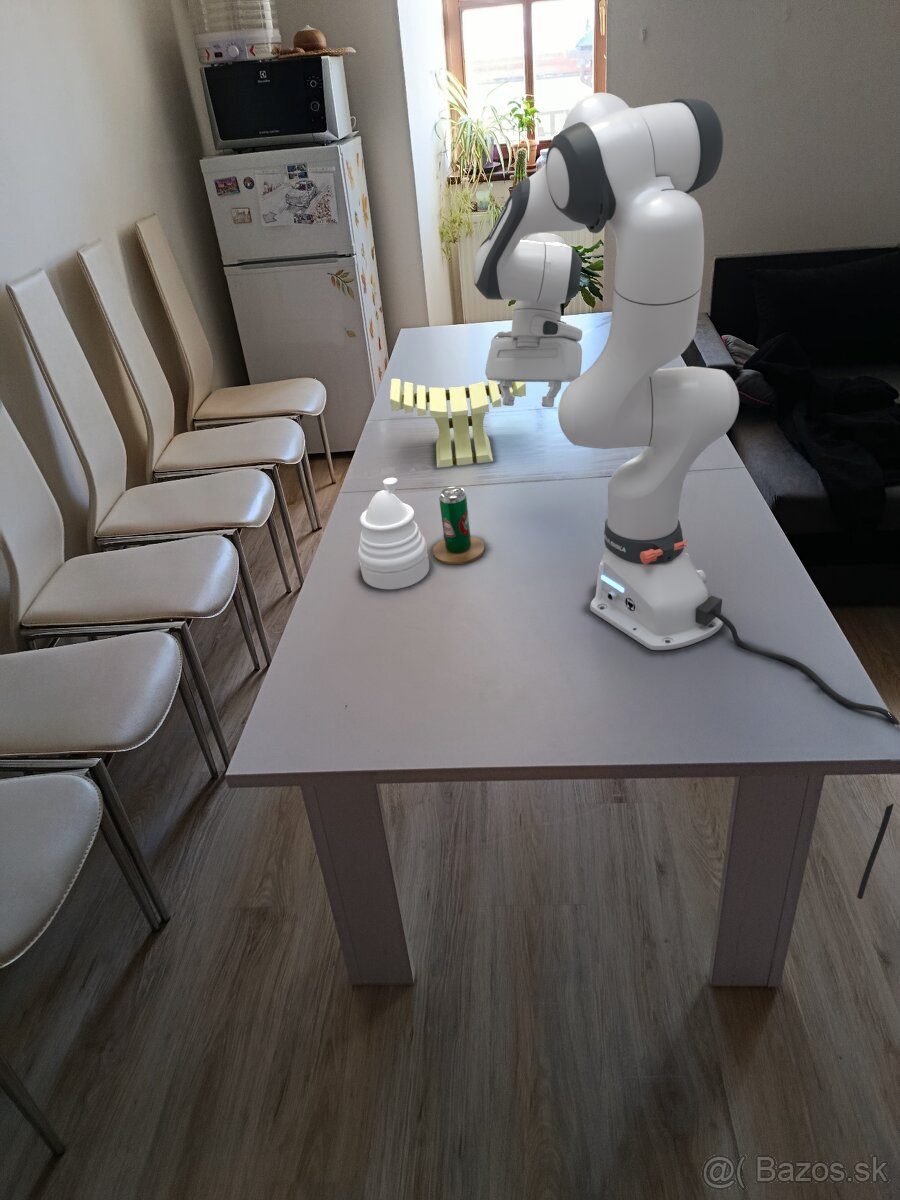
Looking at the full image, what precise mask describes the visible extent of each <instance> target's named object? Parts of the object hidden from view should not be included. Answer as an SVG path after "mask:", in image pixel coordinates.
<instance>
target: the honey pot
mask: <svg viewBox="0 0 900 1200" xmlns="http://www.w3.org/2000/svg"><path fill="white" fill-rule="evenodd" d="M382 483H383V487H384V488H385V489H383V490H379V491H377V492H376V493H375V494H374V495H373V496H372V498H371V500H370V502H369V504H368V507H367V508H366V509H365V510H364V511H362V513H361V515H360V517H359V523H360V525H361V526H362V529H361V531H360V536H359V537H360V538H359V546H358V549H357V550H358V551H357V556H358V560H359V567H360V572H361V575H362V579H363V581H364V582H365V583H366V584H367V585H368V586H370V587H373V588H376V589H380V590H397V589H398V590H399V589H404V588H407V587H410V586H412V585H414V584H417V583H419V582H420V581H421V580H423V579H424V578H425V577H426V576H427V575H428V573H429V571H430V559H429V553H428V546H427V541H426V538H425V537H424V535H423V534H422V531H421V529H420V528H419V525H418V524H417V522H416V521H415V520H414V517H415V511H414V508H413V507H412V506H410V505H409V504H407V503H404V502H403V501H401V499H399V498H398V496H397V495H395V494H394V493H393V492H394V491H395V490H396V489H397V488H398V479H397V478H396V477H387V478H385V479H383V480H382Z"/></svg>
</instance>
